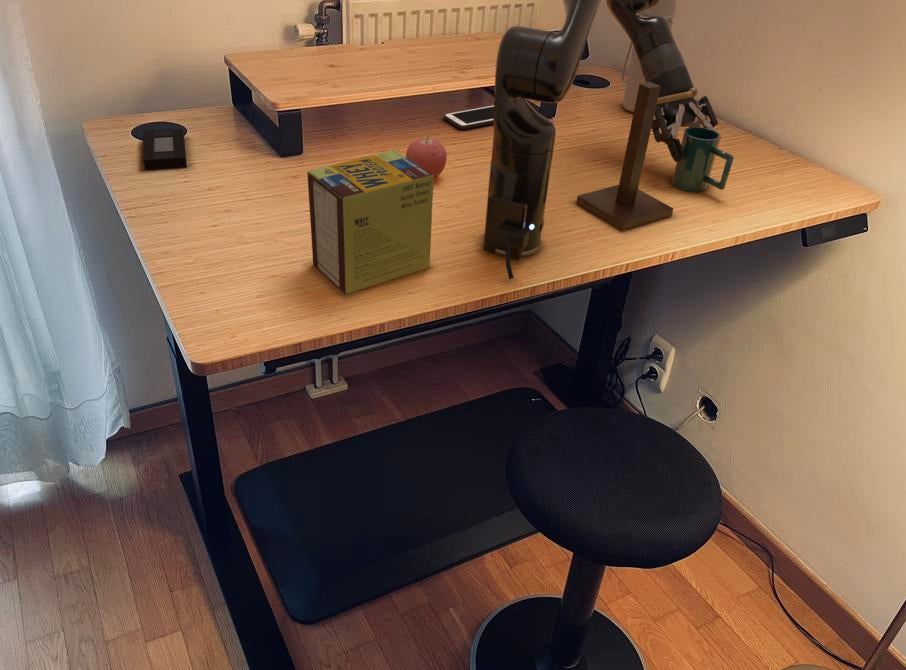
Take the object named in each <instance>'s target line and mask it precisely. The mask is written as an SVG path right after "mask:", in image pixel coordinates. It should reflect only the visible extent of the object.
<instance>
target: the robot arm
mask: <svg viewBox="0 0 906 670" xmlns="http://www.w3.org/2000/svg"><path fill="white" fill-rule="evenodd" d="M601 1H602V0H562V4H563V8H564V14H565V20H564V23H563V26H562V27H561V29H560V30H559V31H552V30H545V29H540V28H533V27H529V26H522V25H521V26H520V25H513V26H511V27H509V28H508V29H507V30H506V31H505V32H504V34H503V35H502V38H501V39H500V43H499V46H498V49H497V53H496V61H495V72H494V100H493V101H494V103H493V105H494V115H493V124H492V127H493V138H492V148H491V159H490V167H489V177H488V178H489V180H488V189H487V200H486V209H485V213H486V214H485V223H484V233H483V237H482V243H483V251H484V252H487V253H490V254H493V255H498V256H500V257H504V258H505V259H504V260H505V269H506V273H507V276H508V280H512V279H514V273H513V269H512V264H511V263H512V262H511V260H514V261H520V260H521V259H523V258H527V257H531V256H534V255H535V254H537V253H538V252H539V251H540V249H541V245H542V233H543V228H544V226H545V211H546V205H547V204H546V203H547V196H548V192H549V191H548V190H549V184H550V183H549V182H550V176H551V169H552V163H553V162H552V161H553V156H554V149H555V143H556V134H557V131H556V130H557V129H556V126H555V125H554V123H553V122H552V121H551V120H550V119H549V118H547V117H545V116H544V115H542V114H541V113H539V112H538V111H537V110H536V109H535V108H533V106H532V105H531V104H530V103H529V101H528V100H531V101H535V102H540V103H547V104H558V103H561V102H562V101H563V100H564V99H565V98H566V96H567V95H568V93H569V92H570V89H571V88H572V85H573V83H574V80H575V79H576V75H577V72H578V68H579V66H580V63H581V59H582V57H583V53H584V50H585V47H586V43H587V40H588V37H589V34H590V31H591V28H592V25H593V22H594V19H595V16H596V14H597V10H598V8H599V6H600V3H601ZM660 1H661V0H605V3H606V7H607V9H608V11H609V12H610V14H611V15H612V16H613V18H614V19H615V20H616V21H617V23H618V24H619V25H620V26H621V28H622V29H623V30H624V32H625V33H626V35H627V36H628V38H629V40H630V42H631V41H632V47H633V46H634V49H635V51H636V54H637V57H638V59H639V62H640V65H641V70H642V74H643V76H644V79H645V82H646V83H647V82H652V83H654V84H656V85H659V86H661V87H660V91H659V96H658V98H660V97H664V96H669V95H674V94H679V93H683V92H688V91H689V90H690V89H691V88H695V86H694V83H693V81H692V78H691V75H690V73H689V70H688V68H687V65H686V62H685V60H684V57H683V55H682V53H681V51H680V49H679V47H678V46H677V43H676V40H675V37H674V35H673V32H672V29H671V30H670V27H669V24H668V22H667V20H666V19H665V18H664V17H662V16H655V17H649V18H641V17H639V16H638V15H636V14H638V13H640V12H642V11H645V10H647V9H649V8H652V7H654V6H656V5H657V4H658V3H659V2H660ZM708 118H709V119H708ZM718 125H719V121H718V119H717V116H716V114H715V112H714V110H713V107H712V105H711V103H710V100H709V98H708V97H707V96H706V95H703V96H701V97H700V98H698V99H696V98H695V97H689V98H685V99H680V100H676V101H671V102H666V103H662V104H657V105H656V109H655V114H654V118H653V123H652V127H651V131H652V134H653V137H654V140H655V142H656V143H658V144H659V143H664V144H665V145H666V146H667V149H668V151H669V154H670V157H671V158H672V159H673V161H674V162H675V163H676V162H678V161H681V160H682V159H684V158H685V153H684V151H683V148H682V146H681V140H680V138H678V135H679V130H680V129H681V128H690V127H704V128H709V129H712V130H714V128H715V127H716V126H718Z"/></svg>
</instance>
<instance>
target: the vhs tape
mask: <svg viewBox="0 0 906 670" xmlns="http://www.w3.org/2000/svg"><path fill="white" fill-rule="evenodd" d="M142 132H143V133H142V134H143V135H142V162H143V167H144V171H150V170H152V171H153V170H166V169H179V168H180V169H181V168H187V167H188V165H187V154H186V153H187V152H186V143H185V142H186V141H185V140H186V139H185V134H184V129H183V128H170V129H169V128H168V129H152V130H143V131H142Z"/></svg>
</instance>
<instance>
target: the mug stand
mask: <svg viewBox="0 0 906 670" xmlns="http://www.w3.org/2000/svg"><path fill="white" fill-rule="evenodd" d="M660 87H661V86H659V85H656V84H654V83H652V82H647V83H642V84H639V89H638V94H637V99H636V104H635V109H634V113H632V114H633V115H632V119H631V124H630V128H629V133H628V139H627V143H626V148H625V153H624V158H623V163H622V168H621V172H620V178H619V182H618V184H616V185H612V186H608V187H604V188H600V189H597V190H594V191H589V192H586V193H582V194H579V195H577V198H576V203H575V204H577V205H578V206H580V207H582V208H583V209H585V210H587V211H588V212H590V213H592V214H593V215H595V216H596V217H598V218H600V219H601V220H603V221H604V222H607V223H608V224H610V225H611V226H613V227H614V228H616V229H618V230H619V231H621V232H624V231H627V230H630V229H633V228H637V227H640V226H644V225H646V224H650V223H654V222H656V221H661V220H663V219H666V218H670V217H672V216H673V213H674V207H672V206H670V205H669V204H666V203H664V202H663V201H661V200H659V199H658V198H655V197H654V196H652V195H650V194H649V193H647V192H644V191H643V190H641V189H639V185H640V181H641V177H642V171H643V169H644V168H643V167H644V164H645V160H646V159H645V158H646V154H647V150H648V145H649V141H650V136H651V131H652V128H651V127H652V123H653V118H654V114H655V109H656V105H657V104H662V103H666V102H671V101H676V100H680V99H685V98H689V97H694V98H695V97H697V95H698V93H699V91H698V88H696V87H694V88H691V89H690V90H689V91H688V92H683V93H679V94H674V95H669V96H664V97H660V98H658V96H659V91H660Z"/></svg>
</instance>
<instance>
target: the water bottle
mask: <svg viewBox="0 0 906 670" xmlns="http://www.w3.org/2000/svg"><path fill="white" fill-rule="evenodd" d="M676 8H677V0H661V1H660V2H659V3H658V4H657V5H656V6H654V7H652V8H649V9H647V10H645V11H642V12H640V13H638V14H636V15H638V16H639V17H641V18H649V17H655V16H662V17H664V18H665V19H666V20H667V22H668V24H669V27H670V30H671V31H672V26H673V23H674V21H673V19H674V18H675V16H676V15H675V14H676ZM631 50H632V51H631ZM630 53H631V57H630ZM625 57H626V58H625V61H624V64H623V67H622V70H621V71H622V73H621V83H623V84H626V85H625V90H624V94H623V99H622V107H623V108H624V110H626V111H628V112H629V113H632V114H634V109H635V104H636V99H637V94H638V89H639V84H642V83H646V82H645V79H644V76H643V74H642V70H641V65H640V62H639V59H638V57H637V54H636V51H635V49H634V46H633V44H632V41H631V40H630V44H629V47H628V51H627V53H626V56H625ZM629 57H630V62H629V67H628V74H627V78H626V80H625V73H626V72H625V71H626V67H627V64H628V60H629Z"/></svg>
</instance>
